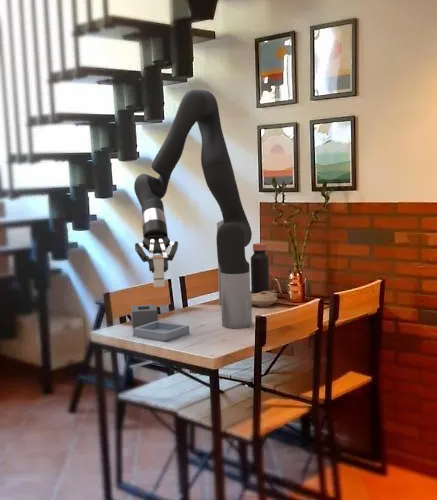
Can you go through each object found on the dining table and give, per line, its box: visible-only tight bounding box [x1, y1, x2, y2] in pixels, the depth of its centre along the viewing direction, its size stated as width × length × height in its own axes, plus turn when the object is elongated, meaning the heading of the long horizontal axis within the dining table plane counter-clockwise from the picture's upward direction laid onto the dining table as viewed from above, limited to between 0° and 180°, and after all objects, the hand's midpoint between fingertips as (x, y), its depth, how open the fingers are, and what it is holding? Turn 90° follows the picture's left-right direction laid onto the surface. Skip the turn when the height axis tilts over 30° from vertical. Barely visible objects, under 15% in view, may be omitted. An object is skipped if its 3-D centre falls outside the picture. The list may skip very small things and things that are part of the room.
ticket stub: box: [152, 254, 166, 288], centre depth 208 cm, size 3×4×9 cm
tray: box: [132, 320, 190, 343], centre depth 211 cm, size 13×11×2 cm
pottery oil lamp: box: [250, 290, 278, 308], centre depth 247 cm, size 9×12×7 cm
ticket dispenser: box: [130, 304, 159, 329], centre depth 224 cm, size 8×9×6 cm
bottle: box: [250, 242, 270, 294], centre depth 263 cm, size 7×7×20 cm
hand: (159, 270), depth 206 cm, fingers closed on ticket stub, 3 cm apart
